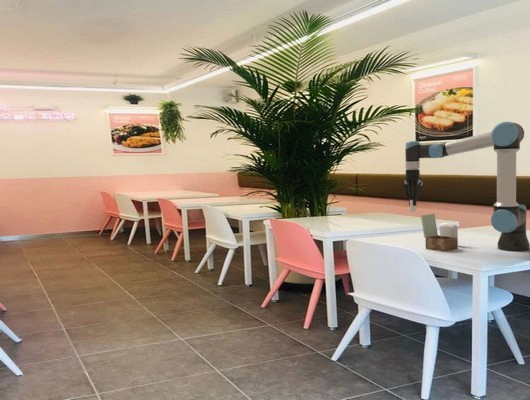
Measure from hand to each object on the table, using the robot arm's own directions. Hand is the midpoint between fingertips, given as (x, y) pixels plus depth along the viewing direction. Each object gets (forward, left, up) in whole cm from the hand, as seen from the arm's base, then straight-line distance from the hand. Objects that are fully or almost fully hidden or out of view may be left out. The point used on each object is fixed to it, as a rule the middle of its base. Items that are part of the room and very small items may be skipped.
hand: (412, 211), depth 282 cm
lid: (-11, 0, -7) cm, 13 cm away
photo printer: (-14, -13, -19) cm, 27 cm away
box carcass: (-18, 0, -19) cm, 26 cm away
